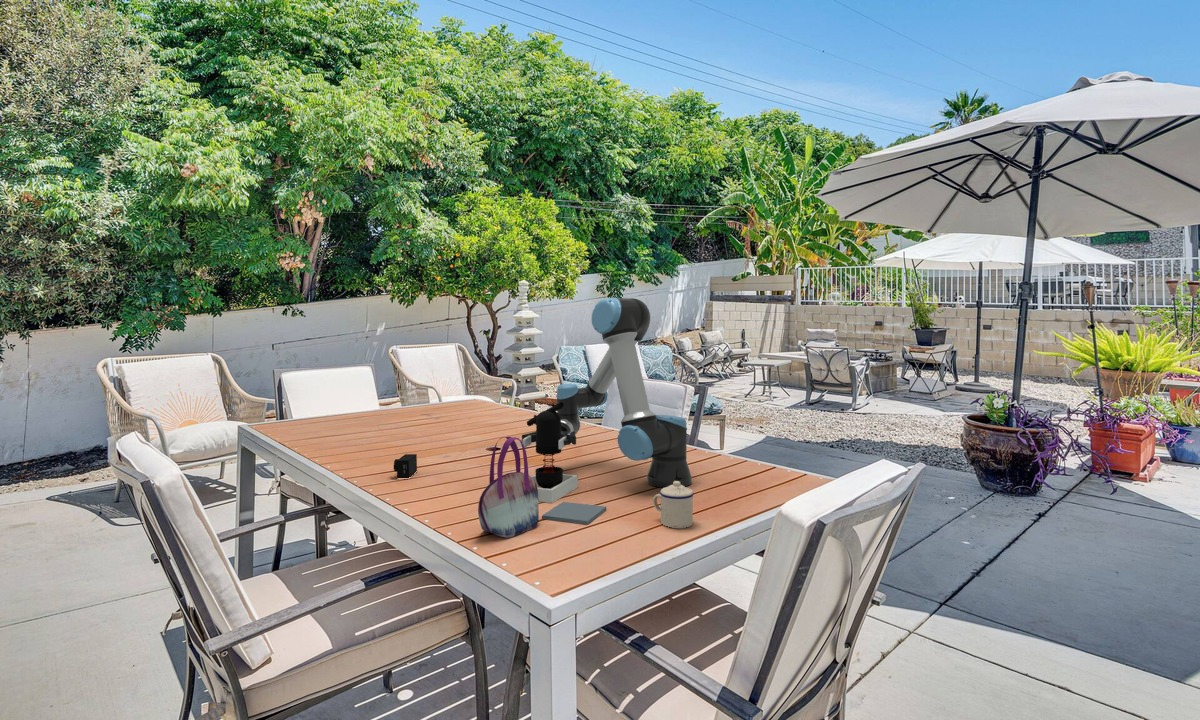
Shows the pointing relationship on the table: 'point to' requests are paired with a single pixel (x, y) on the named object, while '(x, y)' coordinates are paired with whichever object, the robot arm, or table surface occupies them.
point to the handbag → (509, 497)
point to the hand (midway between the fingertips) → (541, 444)
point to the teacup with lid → (675, 506)
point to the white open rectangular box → (557, 489)
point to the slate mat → (574, 513)
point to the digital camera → (406, 465)
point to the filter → (548, 445)
